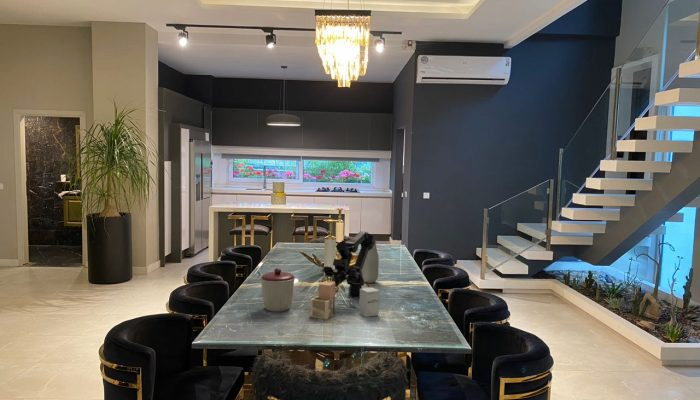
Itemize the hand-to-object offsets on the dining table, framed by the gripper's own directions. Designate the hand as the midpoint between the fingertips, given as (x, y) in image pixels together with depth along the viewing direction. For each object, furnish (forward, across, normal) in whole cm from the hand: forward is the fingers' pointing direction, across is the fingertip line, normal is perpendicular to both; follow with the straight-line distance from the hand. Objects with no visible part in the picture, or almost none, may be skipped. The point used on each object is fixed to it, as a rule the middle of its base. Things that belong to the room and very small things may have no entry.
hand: (335, 286), depth 258 cm
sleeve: (+19, 0, -3) cm, 19 cm away
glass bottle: (-32, -4, +48) cm, 58 cm away
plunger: (+14, 0, 0) cm, 14 cm away
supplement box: (+10, +20, +6) cm, 23 cm away
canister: (+19, -26, -3) cm, 32 cm away
